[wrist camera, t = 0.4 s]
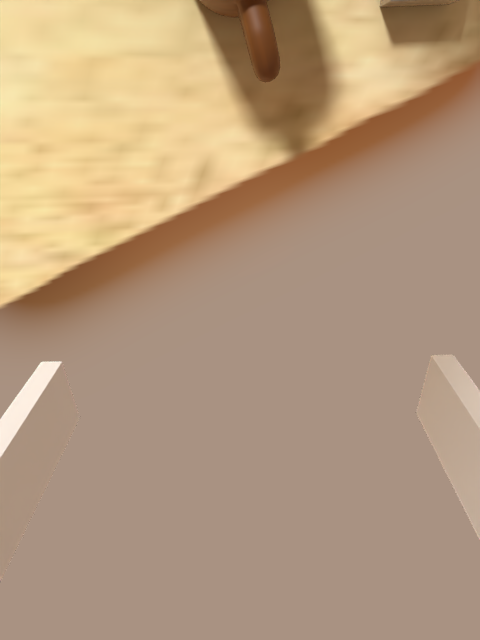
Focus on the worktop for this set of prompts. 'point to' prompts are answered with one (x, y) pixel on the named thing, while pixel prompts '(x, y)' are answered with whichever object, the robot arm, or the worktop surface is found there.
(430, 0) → the rail
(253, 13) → the mug
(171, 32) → the worktop surface
